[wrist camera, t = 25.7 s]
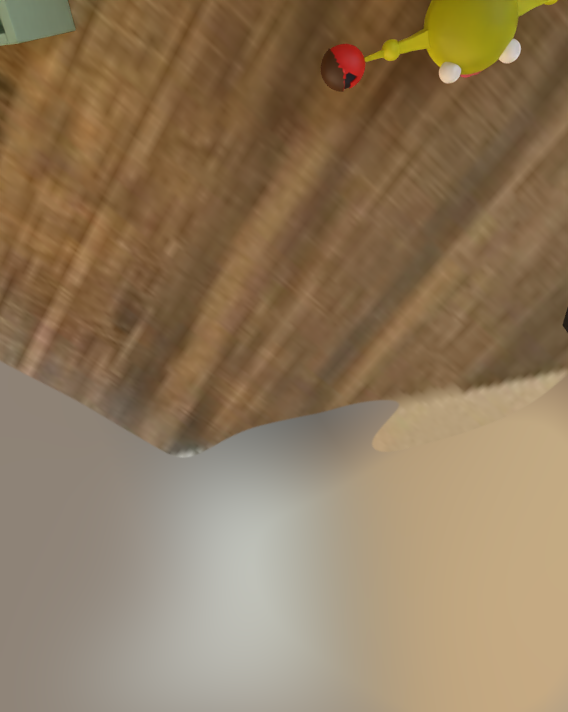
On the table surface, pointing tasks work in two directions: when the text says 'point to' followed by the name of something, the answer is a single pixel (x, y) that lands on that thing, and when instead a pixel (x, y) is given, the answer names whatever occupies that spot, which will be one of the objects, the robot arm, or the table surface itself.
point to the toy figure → (443, 41)
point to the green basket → (33, 20)
